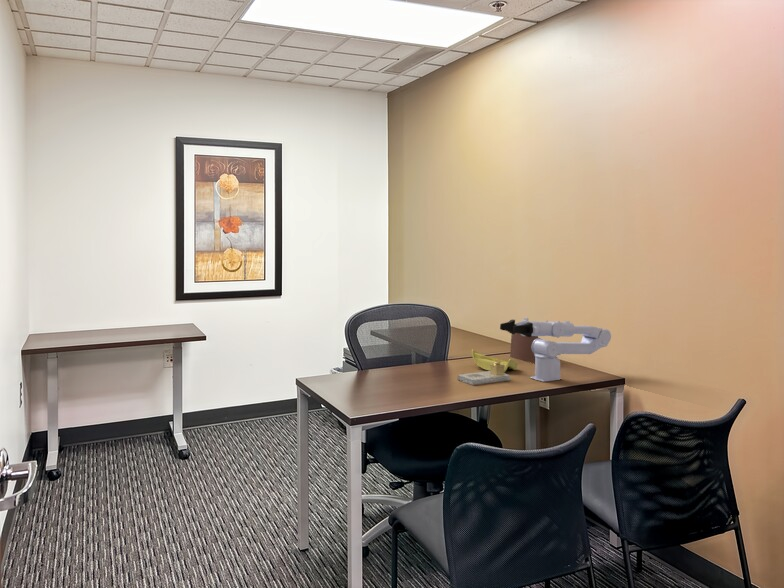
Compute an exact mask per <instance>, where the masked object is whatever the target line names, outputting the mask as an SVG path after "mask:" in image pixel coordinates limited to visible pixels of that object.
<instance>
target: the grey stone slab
mask: <svg viewBox="0 0 784 588" xmlns="http://www.w3.org/2000/svg"><path fill="white" fill-rule="evenodd" d="M457 380H458V381H459V380H460V382H463V383H465V384H469V385H471V386H475V385H484V384H485V385H486V384H493V383H501V382H506V381H507V382H508V381H511V375H510V374H508V373H506V372H504V374H498V375H496V374H492V373H490V371H488V370H485V371H479V372H471V373H463V374H457Z"/></svg>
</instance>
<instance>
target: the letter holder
mask: <svg viewBox="0 0 784 588" xmlns="http://www.w3.org/2000/svg"><path fill="white" fill-rule="evenodd" d="M535 339H541V340H543V339H542V338H540V337H539V336H531V337H526V336H522V335H521V334H519V333H515V334H511V338H510V357H511V358H513V357H514V359H517V360H521V361H523V362H527V363H530V362H531V363H530V364H533V363H534V364H533V365H535V357H536V356H534V353H533V351H532V348H531V347H532V343H533V341H534V340H535Z"/></svg>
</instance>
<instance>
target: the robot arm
mask: <svg viewBox="0 0 784 588" xmlns="http://www.w3.org/2000/svg"><path fill="white" fill-rule="evenodd" d="M499 330H501V331H505V332H507V333H509V334H511V335H512V334H515V333H519V334H521V335H522V336H526V337H531V336H538V337H553V338H561V337H565V338H568V337H569V338H570V337H572V336H574V335H575V334H577V335H582V338H581V341H580V342H578V341H576V342H575V341H573V342H572V341H571V342H570V341H568V342H567V341H551V340H545V339H542V338H540V339H535V340H534V341H533V343H532V347H531V348H532V351H533V353H534V356H536V357H535V364H534V365H535V366H534V375H533V376H530V377H529V378H530V379H532V380H536V381H539V382H543V383H545V382H552V381H553V382H554V381H559V380H560V379H561V380H562V377H561V361H560V358H559V357H557V356H561V355H592V354H594V353H595V352H597V351H598V350H600V349H601V348H606V347H608V344H609V343H610V341H611V338H612V334H611V331H610V330H608V329H605V328H604V329H603V328H602V327H597V326H592V325H574V324H573V323H572V322H570V321H569V320H565V321H560V320H556V321H550V320H546V321H536V320H535V321H534V320H533V321H532V320H529V318H528V317H523V320H522V321H518V322H516V319H509V321H507V322H502V323H500V327H499ZM541 339H542V340H541Z"/></svg>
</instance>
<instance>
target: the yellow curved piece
mask: <svg viewBox="0 0 784 588" xmlns="http://www.w3.org/2000/svg"><path fill="white" fill-rule="evenodd" d="M471 357H472V360H473V361H474V363H475V364H476V365H477V366H478V367H479V368H481V369H483V370H485V371H490V364H494V363H495V362H500V364H504V365H505V369H504V373H506V371H507V370H511V369H512V370H513V371H516V370H517V367H518V364H519V363H518V362H517V361H515V360H513V358H509V359H508V360H504V359H500V358H497V357H496V358H495V357H492V356H488V355H485V354H483V353H480V352H478V351H477V350H475V349H471ZM512 370H511V371H512Z"/></svg>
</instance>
